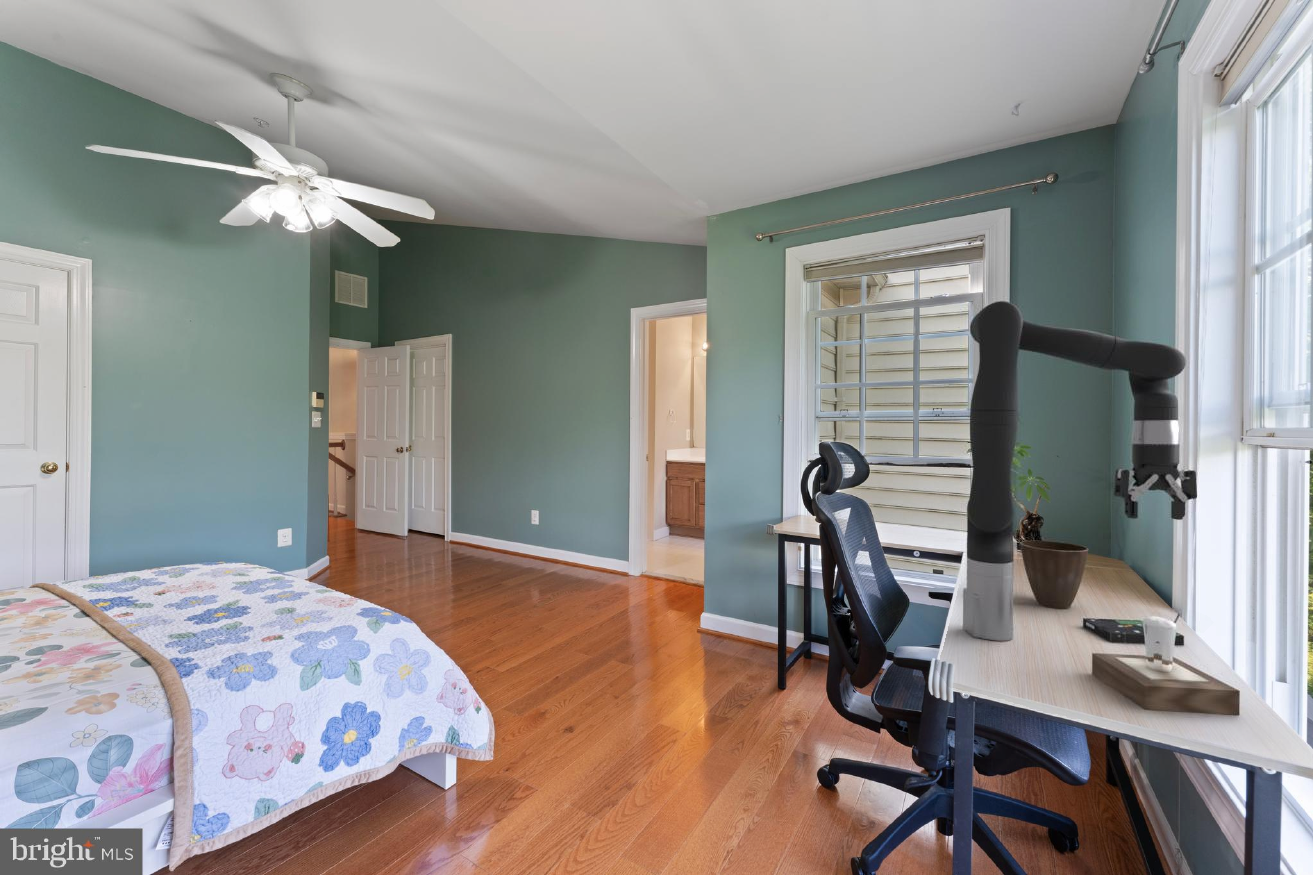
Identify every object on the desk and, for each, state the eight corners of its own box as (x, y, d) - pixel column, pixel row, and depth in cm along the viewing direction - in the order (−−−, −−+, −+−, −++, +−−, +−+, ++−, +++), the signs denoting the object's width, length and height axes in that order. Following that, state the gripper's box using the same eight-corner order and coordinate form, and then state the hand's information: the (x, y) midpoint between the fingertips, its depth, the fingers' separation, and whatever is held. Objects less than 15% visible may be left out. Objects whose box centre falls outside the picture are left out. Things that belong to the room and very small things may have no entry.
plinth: (1145, 709, 94) (1145, 683, 94) (1092, 673, 108) (1092, 651, 108) (1239, 714, 92) (1239, 688, 92) (1173, 677, 106) (1173, 655, 106)
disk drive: (1111, 645, 124) (1185, 647, 122) (1111, 633, 124) (1185, 635, 122) (1081, 629, 134) (1149, 631, 132) (1081, 617, 134) (1149, 619, 132)
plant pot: (1006, 599, 156) (1007, 541, 156) (1046, 594, 161) (1047, 538, 160) (1059, 615, 142) (1060, 552, 142) (1102, 610, 146) (1102, 549, 146)
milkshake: (1188, 675, 97) (1189, 618, 97) (1152, 672, 98) (1153, 615, 98) (1170, 664, 102) (1170, 609, 102) (1136, 662, 103) (1136, 607, 103)
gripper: (1130, 442, 116) (1129, 520, 116) (1208, 442, 114) (1207, 522, 114) (1106, 441, 123) (1105, 515, 124) (1178, 441, 121) (1178, 516, 122)
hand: (1154, 518), depth 119 cm, fingers open, 8 cm apart
